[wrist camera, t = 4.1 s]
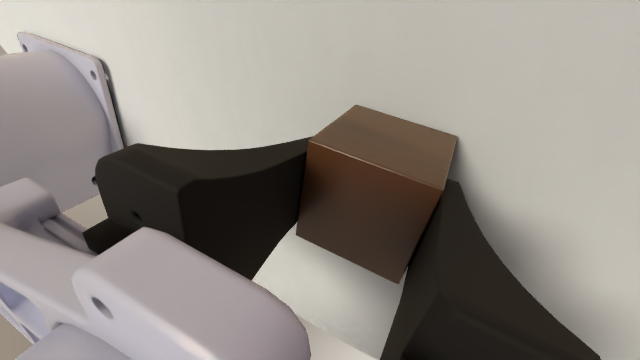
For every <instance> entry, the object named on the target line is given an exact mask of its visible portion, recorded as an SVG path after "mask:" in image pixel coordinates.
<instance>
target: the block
mask: <svg viewBox="0 0 640 360" xmlns="http://www.w3.org/2000/svg"><path fill="white" fill-rule="evenodd" d="M456 141H457V136H454V135H451V134H448V133H445V132H441V131H438V130H435V129H432V128H429V127H425V126H422V125H419V124H416V123H413V122H410V121H406V120H403V119H400V118H397V117H394V116H390V115H387V114H384V113H381V112H378V111H374V110H371V109H368V108H365V107H362V106H358V105H355V106H354V107H352V108H351V109H350V110H348V111H347V112H346V113H344V114H343V115H342V116H340V117H339V118H338V119H336V120H335V121H334V122H332V123H331V124H330V125H328V126H327V127H326V128H324V129H323V130H322V131H320V132H319V133H318V134H316V135H315V136H314V137H312V138H311V139H310V140H309V143H308V150H307V157H306V164H305V172H304V179H303V186H302V193H301V200H300V208H299V215H298V222H297V229H296V235H297V236H299V237H301V238H303V239H305V240H307V241H309V242H311V243H313V244H316V245H318V246H320V247H322V248H324V249H326V250H328V251H330V252H332V253H334V254H336V255H338V256H340V257H342V258H345V259H347V260H349V261H351V262H353V263H355V264H357V265H359V266H361V267H363V268H365V269H367V270H369V271H371V272H373V273H376V274H378V275H380V276H382V277H384V278H386V279H388V280H390V281H392V282H394V283H396V284H399V283H400V281H401V279H402V277H403V275H404V273H405V271H406V269H407V266H408V264H409V262H410V260H411V258H412V256H413V254H414V252H415V250H416V248H417V245H418V243H419V241H420V239H421V237H422V235H423V233H424V231H425V229H426V227H427V224H428V222H429V220H430V218H431V216H432V214H433V212H434V210H435V208H436V206H437V203H438V201H439V199H440V197H441V195H442V193H443V191H444V187H445V183H446V180H447V176H448V172H449V168H450V164H451V160H452V157H453V153H454V149H455V145H456Z"/></svg>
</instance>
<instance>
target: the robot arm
mask: <svg viewBox="0 0 640 360" xmlns="http://www.w3.org/2000/svg"><path fill="white" fill-rule="evenodd" d="M17 37H18V40H19V43H20V45H21V48H22V50H23V52H22V53H13V54H4V55H0V314H1V315H3V316H4V317H5V318H6V319H7V320H8V321H9V322H10V323H11V324H12V325H13V326H14V327H15V328H16V329H17V330H19V331H20V332H21V333H22V334H23V335H24V336H25V337H26V338H27V339H28V340H29V341H30V342H31V343H32V344H33V346H31V347H30V348H29V349H27V350H26V351H25V352H23V353H22V354H21V355H19V356H18V357H17V358H16V359H14V360H310V357H311V352H310V346H309V340H308V335H307V332H306V329H305V327H304V326H303V325H302V323H301V322H300V321H299V319H298V318H297V316H296V315H295V314H294V312H293V311H292V309H291V308H290V307H289V306H288V305H286V304H285V303H284V302H282V301H281V300H280V299H278V298H277V297H276V296H275V295H273V294H272V293H271V292H269V291H268V290H267V289H265V288H263V287H261V286H260V285H258V284H256V283H254V282H253V281H252V279H253V278H254V276H255V275H256V273H257V272H258V271H259V269H260V268H261V266H262V265H263V263H264V262H265V261H266V259H267V258H268V256H269V255H270V254H271V252H272V251H273V250H274V248H275V247H276V246H277V244H278V243H279V242H280V240H281V239H282V238H283V237H284V236H285V234H286V233H287V232H288V231H289V230H290V229H291V228H292V227H293V226H294V225H295V224H296V223H297V221H298V215H299V208H300V200H301V193H302V186H303V179H304V172H305V164H306V157H307V150H308V143H309V140H310V139H311V138H312V137H308V138H304V139H300V140H295V141H291V142H287V143H281V144H276V145H271V146H265V147H259V148H251V149H240V150H190V149H177V148H168V147H160V146H153V145H145V144H139V143H137V144H134V145H131V146H128V147H126V148H124V147H123V143H122V139H121V135H120V131H119V127H118V124H117V120H116V116H115V112H114V108H113V104H112V100H111V97H110V93H109V89H108V85H107V81H106V77H105V74H104V70H103V66H102V64H101V62H100V61H99V60H98V59H97V58H95V57H93V56H90V55H87V54H85V53H82V52H79V51H76V50H74V49H71V48H68V47H65V46H63V45H60V44H57V43H55V42H52V41H49V40H46V39H44V38H41V37H38V36H35V35H33V34H30V33H27V32H18V34H17ZM313 137H314V136H313ZM98 194H100V195H101V198H102V200H103V204H104V206H105V209H106V212H107V215H108V217H109V218H107V219H106V220H104V221H102V222H100V223H98V224H97V225H95V226H93V227H91V228H89V229H86V228H85V227H83V226H82V225H80V224H79V223H77V222H75V221H74V220H72V219H71V218H69V217H67V216H66V215H64V214H63V213H62V212H64V211H66V210H68V209H70V208H72V207H74V206H76V205H78V204H80V203H82V202H84V201H86V200H88V199H90V198H92V197H94V196H96V195H98ZM380 360H601V359H600V356H599V355H598V354H597V353H595V352H594V351H593V350H592V349H591V348H590V347H588V346H587V345H586V344H585V343H584V342H582V341H581V340H580V339H579V338H578V337H577V336H575V335H574V334H573V333H572V332H571V331H569V330H568V329H567V328H566V327H565V326H564V325H562V324H561V323H560V322H559V321H558V320H557V319H556V318H554V317H553V316H552V315H551V314H550V313H549V312H548V311H547V310H546V309H545V308H544V307H543V306H542V305H541V304H540V303H539V302H538V301H537V300H536V299H535V298H534V297H533V296H532V295H531V294H530V293H529V292H528V291H527V290H526V289H525V288H524V287H523V286H522V285H521V284H520V282H519V281H518V280H517V279H516V278H515V277H514V276H513V274H512V273H511V272H510V271H509V270H508V269H507V268H506V266H505V265H504V264H503V263H502V261H501V260H500V259H499V257H498V256H497V255H496V253H495V252H494V250H493V249H492V248H491V246H490V245H489V243H488V242H487V240H486V239H485V237H484V236H483V234H482V232H481V230H480V229H479V227H478V225H477V223H476V222H475V220H474V217H473V215H472V213H471V211H470V209H469V207H468V204H467V202H466V199H465V197H464V194H463V192H462V189H461V186H460V184H459V182H456V181H453V180H450V179H447V180H446V183H445V187H444V191H443V193H442V195H441V197H440V199H439V201H438V203H437V206H436V208H435V210H434V212H433V214H432V216H431V218H430V220H429V222H428V224H427V227H426V229H425V231H424V233H423V235H422V237H421V239H420V241H419V243H418V245H417V248H416V250H415V252H414V254H413V256H412V258H411V260H410V262H409V264H408V269H407V274H406V278H405V283H404V288H403V292H402V295H401V299H400V303H399V306H398V309H397V311H396V314H395V317H394V320H393V323H392V326H391V329H390V332H389V335H388V338H387V341H386V344H385V347H384V350H383V352H382V355H381V358H380Z"/></svg>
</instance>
